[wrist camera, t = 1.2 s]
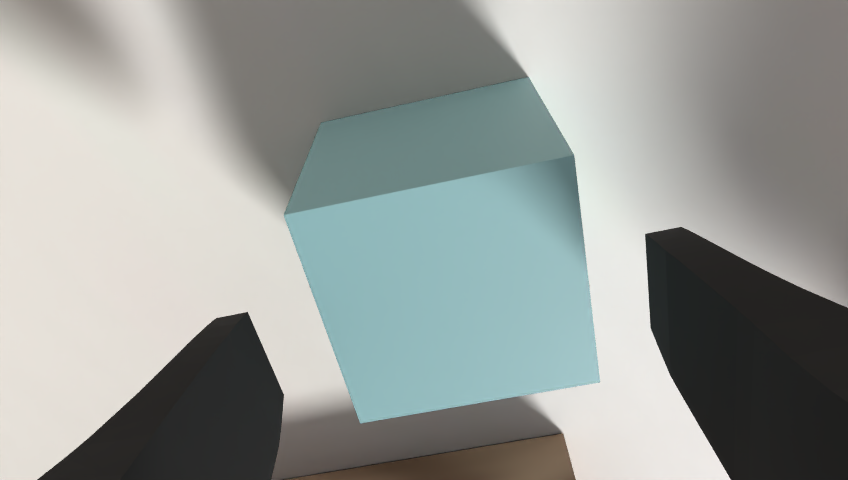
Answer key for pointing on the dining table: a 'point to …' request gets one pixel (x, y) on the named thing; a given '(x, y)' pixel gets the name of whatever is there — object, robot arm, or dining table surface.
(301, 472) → the dining table surface
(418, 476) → the walnut base
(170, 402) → the robot arm
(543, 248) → the teal cube
